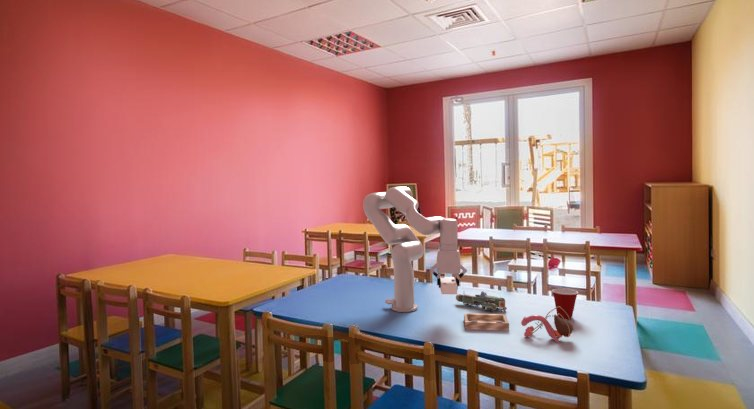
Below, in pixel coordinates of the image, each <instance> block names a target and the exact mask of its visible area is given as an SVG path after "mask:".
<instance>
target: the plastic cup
mask: <svg viewBox="0 0 754 409" xmlns="http://www.w3.org/2000/svg"><path fill="white" fill-rule="evenodd" d="M551 292H552V295H553V299H554V305H555V306H554V307H555V308H556V307H558V306H560V307H561V308H562V309H563V310H564V311H565V312H566V313H567V314H568V316H569V318H570V320H571V319H572V318H573V314H574V310H575V306H576V300H577V297H578V294H579V291H577V290H574V289H568V288H553V289H551ZM560 307H558V308H556V309H555V311H556V315H558V313H559V314H561V315H562V317H563V318H564V319H565V320H569V318H568V316H567V314H566V313H565V312H564V311H563V310H562V309H561V308H560ZM561 315H558V316H557V317H560V318H562V317H561ZM563 318H562V319H563Z"/></svg>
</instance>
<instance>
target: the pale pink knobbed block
mask: <svg viewBox="0 0 754 409" xmlns="http://www.w3.org/2000/svg"><path fill="white" fill-rule="evenodd" d="M439 290H440V293H441V294H442V295H458V289H457V283H456V278H455V277H454V276H440V288H439Z"/></svg>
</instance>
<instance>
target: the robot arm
mask: <svg viewBox="0 0 754 409" xmlns="http://www.w3.org/2000/svg"><path fill="white" fill-rule="evenodd" d="M413 195H414V194H413V191H412V190H411V189H410V187H407V186H403V185H402V186H393V187H390V188H388V189H387V190H386V191H380V192H379V191H378V192H371V193H369V194H367V195H365V197H364V198H363V202H362V209H363V212H364V214H365V216H366V218H367V219H368V221H370V223H371V224H372V225H373V227H374V228H375V229H376V231H377V233H378V234H379V235H380V237H381V238H382V240H383V241H384V242H385V244H386V245H388V246H389V245H390V246H393V245H394V246H393V247H392V249H391V253H390V254H391V260H392V267H393V290H394V291H393V292H394V297H393V298H391V299H390V298H385V304H387V305H391V306H390V307H391V308H390V309H391V310H392V311H394V312H398V313H411V312H414V311H416V310H418V308H419V306H418V305H417V303H415V272H414V270H415V269H414V267H413V265H412V261H416V260H419V259H421V258H423V255H424V254H425V249H424V246H423V244H422V242H421V240H420V239H419V237H417V235H416V234H415V232H414V231H413V230H415V231H416V232H417V233H419V234H421V235H423V236H431V235H434V234H435V235H436V234H439V243H437V244H436V248H438V250H437V256H436V263H435V264H434V265H433V266H431V267H430V268H429V271H430V272H431V274H432V275H433V276H434V277H435V278H436V286H438V288H439V289H440V277H442V274H443V275H448V274H449V275H455V277H456V278H455V280H456V283H457V290H458V289H459V288H458V287H460V280H461V278H462V277H464V275H466V273H467V272H468V270H467V268H465V266H463V265H462V264H461V253H460V250H459V249H458V234H459V233H458V232H459V230H458V229H459V226H458V224H459V222H458V220H457V219H456V218H450V217H443V216H429V217H425V216H423V215H422V214H421V213H419V212H418V208H419V202H418V201H417V199H415V198H413V197H414V196H413ZM391 208H395V209H397V211H399V212H400V213H402V214H403V215H404V216H405V219H406V221H407V224H409V225H407V224H405V223H396V224H395V223H394V222H393V221H392V220H391V218H390V216H388V214H387V213H385V212H384V211H382V210H385V209H391ZM435 269H436V271H435Z"/></svg>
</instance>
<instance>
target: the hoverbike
mask: <svg viewBox="0 0 754 409" xmlns="http://www.w3.org/2000/svg"><path fill="white" fill-rule="evenodd" d="M465 293H466V292H465V290H463V292H462V294H461V293H460V294H459V293H458V294H456V296H455V300H456V301H457V302H459V303H460V302H461V303H462V304H463V305H464V306H465V307H472V306H474V307H476V306H480V307H481V310H482V311H485V310H486V308H487V309H489V310H490V312H492V313H493V312H494V311H496V310H497V311H498V312H500V313H504V312H506V311H507V309H508V307H507V306H506V299H505V298H504V297H502V296H494V295H489V294H488V293H487V292H484V291H481V293H480V294H475V295H471V294H470V295H469V294H465Z"/></svg>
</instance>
